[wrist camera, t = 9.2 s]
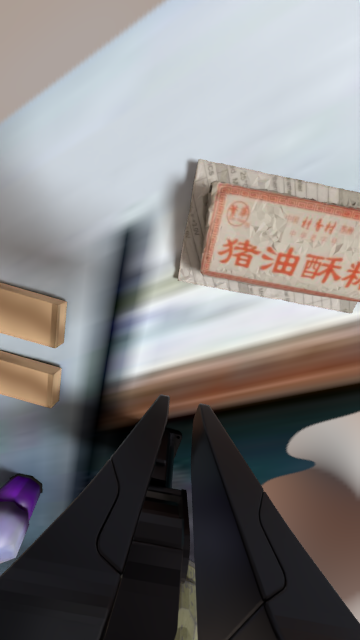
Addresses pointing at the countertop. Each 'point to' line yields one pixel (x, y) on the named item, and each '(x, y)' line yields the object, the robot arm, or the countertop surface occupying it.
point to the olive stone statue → (187, 607)
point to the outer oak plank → (32, 316)
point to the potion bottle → (16, 512)
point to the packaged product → (272, 237)
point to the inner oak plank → (29, 380)
